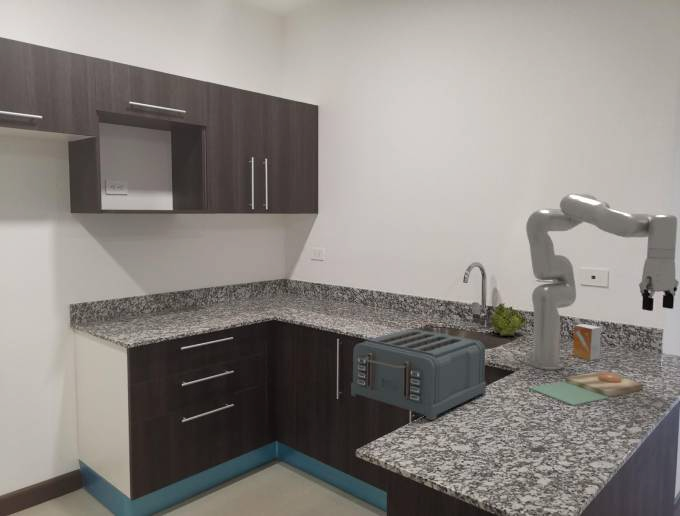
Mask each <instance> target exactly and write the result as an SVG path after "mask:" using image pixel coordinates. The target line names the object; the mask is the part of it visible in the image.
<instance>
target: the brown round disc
mask: <svg viewBox="0 0 680 516" xmlns="http://www.w3.org/2000/svg"><path fill="white" fill-rule="evenodd" d="M621 378H622V375H621V374H617V373H613V372H608V371H607V372H606V371H602V373H599V374H598V379H599V380H601V381H605V382H610V383H619V382H621Z"/></svg>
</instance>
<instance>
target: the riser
mask: <svg viewBox="0 0 680 516" xmlns="http://www.w3.org/2000/svg"><path fill="white" fill-rule="evenodd" d="M602 372H603V371H602V370H601V371H597V372H596V371H595V372H589V373H585V374H579V375H572V376H568V377H567V376H566V377H565V378H564V380H565V381H564V382H566V383H569V384H572V385H575V386H578V387H581V388H584V389H587V390H589V391H592V392H595V393H598V394H601V395H604V396H607V397H609V398H611V397H614V396H615V397H616V396H619V395H625V394H630V393H636V392H639V391H643V390H644V383H640V382H638V381H635V380H631V379H628V378H625V377H621V382H619V383H610V382H605V381H601V380H599V379H598V374H599V373H602Z"/></svg>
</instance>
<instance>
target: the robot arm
mask: <svg viewBox="0 0 680 516" xmlns="http://www.w3.org/2000/svg"><path fill="white" fill-rule="evenodd" d="M527 219H528V220H527V222H526V225H525V230H526V234H527V235H526V236H527V239H528V243H529V248H530V249H529V251H530V259H531V266H532V271H533V272H532V273H533V275H534V277H535V278H536V279H537V280H540V281H552V283H544V284H540V285H537V287H535V288H534V290H533V291H532V294H531V298H532V299H531V301H532V305H533V306H532V307H533V340H532V341H533V342H532V350H530V349H529V350H528V351H527V352H526V354H525V355H526V356H528V357H530V359H529V360H528V361H527V364H528V366H530V367H532V368H534V369H535V368H536V369H540V370H547V371H557V370H561V369H563V368H564V364H563V362H561V361H560V347H561V346H560V345H561V343H560V341H561V325H562V323H561V317H560V313H559V311H558V309H560V308H561V309H562V308H568V307H570V306H572V305H574V303H575V302H576V298H577V289H576V283H575V282H576V281H575V274H574V268H573V264H572V262H571V261H570V259H569V258H568V257H566V256H564V255H562V254H556V253H555V248H554V242H553V240H552V238H551V236H550V234H549V232H566V231H567V232H568V231H569V230H572V229H573V228H576V227H577V226H579V225H581V224H583V223H587V224H590V225H591V226H592V225H593V226H595V227H596V228H597V229H598V230H601V231H603V232H606V233H609V234H612V235H615V236H618V237H621V238H647V247H646V248H647V249H646V250H647V251H646V252H647V253H646V258H645V261H644V265H643V270H642V275H641V282H640V283H639V284H638V286H639V292H640V294H641V298H642V304H641V309H642V310H644V311H648V312H653V311H654V300H655V299H654V295H655V293H656V292H657V293H658V292H663V295H662V308H663V309H664V308H665V309H671V310H673V309H674V303H675V296H676V292H677V291H678V285H679V283H680V282H679V280H677V279H676V261H675V260H676V245H677V234H678V233H677V232H678V231H677V229H678V218H677V217H676V215H672V214H648V213H647V214H646V213H626V212H623V211H622V212H621V211H619V210H614V209H611V207H610V205H609V203H608V202H606V201H602V200H599V199H597V198H596V197H595V196H593V194H592V195H591V194H585V193H570V194H567V195H565V196H563V198H561V200H560V203H559V208H541V209H538V210H536V211H533V212H532V213H531V214H530V216H529V217H528V218H527Z"/></svg>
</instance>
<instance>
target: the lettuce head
mask: <svg viewBox="0 0 680 516" xmlns="http://www.w3.org/2000/svg"><path fill="white" fill-rule="evenodd" d="M505 304H506V303H505V302H504V303H502V302H501V303H498V305H497V306H496V308H497V309H496V310H493V311H494V313H492V319H491V320H490V323H491V326H492V327H493V328H494V331H495V332H498V333H499V335H500V336H501V337H504V336H505V337H514V336H515V333H516V331H517V330H518V329H522V328H523V327H524V326H525V324H526V323H527V318H526V317H525V318H523V316H524V315H523V314H521V312H519V310H518V309H517V310H513V306H505Z"/></svg>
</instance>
